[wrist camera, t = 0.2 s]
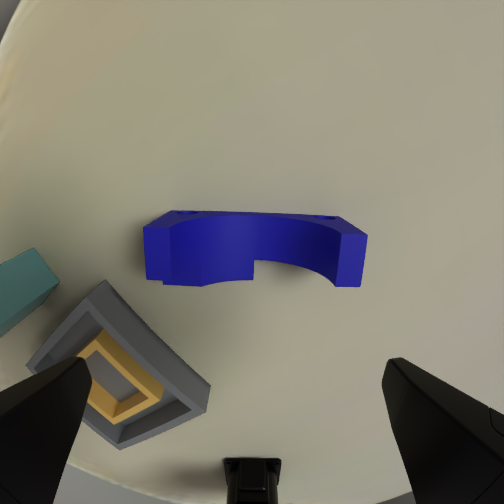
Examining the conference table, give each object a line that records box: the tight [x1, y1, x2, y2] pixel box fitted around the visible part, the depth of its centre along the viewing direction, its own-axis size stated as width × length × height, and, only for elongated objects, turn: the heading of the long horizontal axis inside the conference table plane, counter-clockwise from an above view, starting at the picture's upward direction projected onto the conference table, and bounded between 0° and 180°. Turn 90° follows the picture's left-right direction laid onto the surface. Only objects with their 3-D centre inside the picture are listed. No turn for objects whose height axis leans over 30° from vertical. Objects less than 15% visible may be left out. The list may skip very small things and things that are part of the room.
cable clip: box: [143, 211, 368, 287], centre depth 19 cm, size 12×4×6 cm, turn 88°
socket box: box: [26, 280, 211, 450], centre depth 23 cm, size 13×13×4 cm
